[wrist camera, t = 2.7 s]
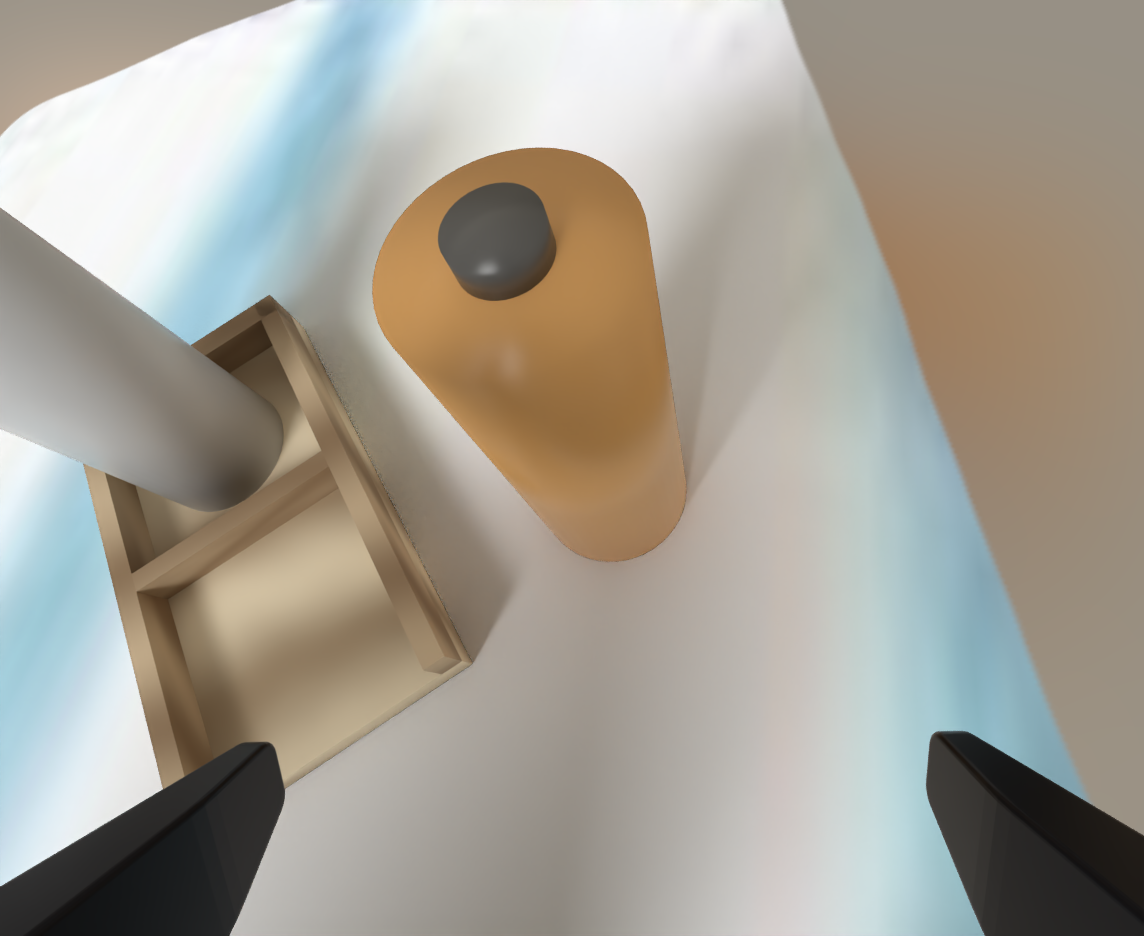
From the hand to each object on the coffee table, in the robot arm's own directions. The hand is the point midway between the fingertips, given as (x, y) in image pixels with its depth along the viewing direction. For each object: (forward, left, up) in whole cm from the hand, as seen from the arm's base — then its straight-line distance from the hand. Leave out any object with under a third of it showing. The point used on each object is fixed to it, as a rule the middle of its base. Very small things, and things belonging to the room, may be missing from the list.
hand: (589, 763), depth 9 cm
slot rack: (+2, +17, -13) cm, 22 cm away
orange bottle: (+8, +4, -13) cm, 15 cm away
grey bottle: (+4, +21, -12) cm, 24 cm away
